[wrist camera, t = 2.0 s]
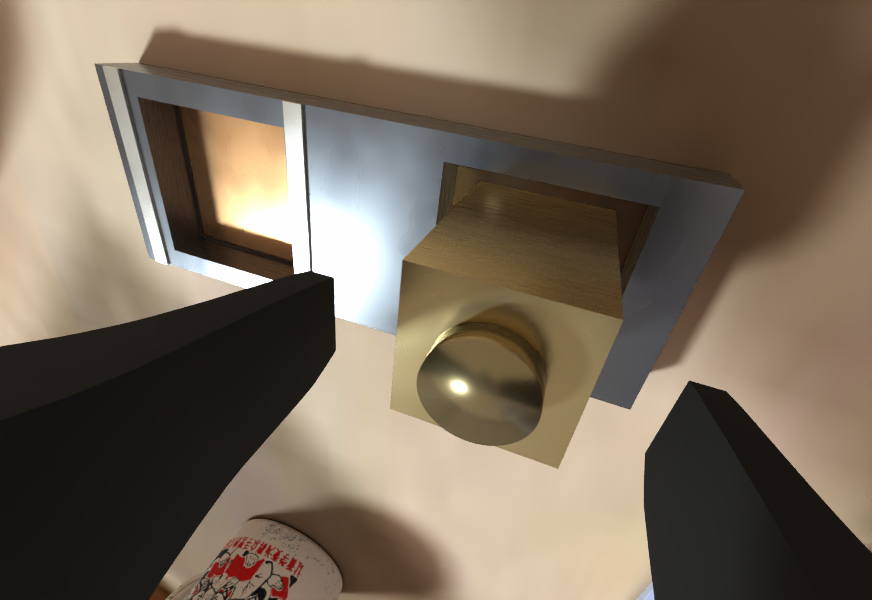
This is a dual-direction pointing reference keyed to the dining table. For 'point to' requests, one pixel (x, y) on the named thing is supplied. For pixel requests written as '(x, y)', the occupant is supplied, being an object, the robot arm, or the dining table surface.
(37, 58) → the dining table surface
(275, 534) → the teacup with lid
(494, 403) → the cube with round knob
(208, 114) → the plate with square holes
